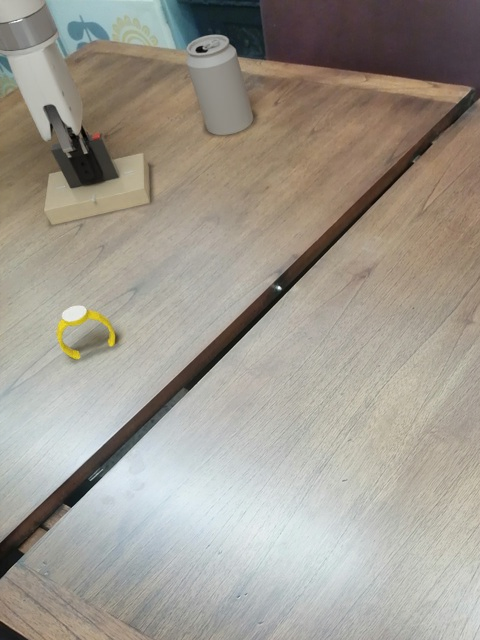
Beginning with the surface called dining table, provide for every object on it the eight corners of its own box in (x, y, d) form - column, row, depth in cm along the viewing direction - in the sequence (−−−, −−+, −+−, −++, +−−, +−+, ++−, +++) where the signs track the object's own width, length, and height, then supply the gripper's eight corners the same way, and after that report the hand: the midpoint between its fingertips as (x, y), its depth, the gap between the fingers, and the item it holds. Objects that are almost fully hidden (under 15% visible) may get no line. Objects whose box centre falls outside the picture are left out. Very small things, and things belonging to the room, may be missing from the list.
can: (204, 124, 110) (177, 40, 100) (248, 111, 111) (226, 26, 101) (213, 145, 106) (186, 59, 96) (260, 131, 107) (238, 44, 97)
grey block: (70, 188, 97) (49, 148, 93) (70, 182, 98) (50, 142, 94) (119, 177, 98) (100, 136, 93) (119, 172, 99) (101, 131, 94)
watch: (74, 370, 80) (47, 330, 75) (70, 356, 81) (44, 316, 76) (124, 351, 81) (101, 310, 76) (119, 338, 82) (96, 296, 77)
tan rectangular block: (54, 232, 97) (42, 211, 94) (59, 191, 104) (48, 170, 101) (152, 210, 97) (143, 189, 95) (151, 170, 104) (142, 149, 101)
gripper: (-1, 10, 87) (70, 155, 102) (-17, 62, 78) (63, 212, 93) (57, -3, 87) (120, 143, 102) (48, 47, 78) (118, 200, 93)
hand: (92, 175), depth 97 cm, fingers closed on grey block
